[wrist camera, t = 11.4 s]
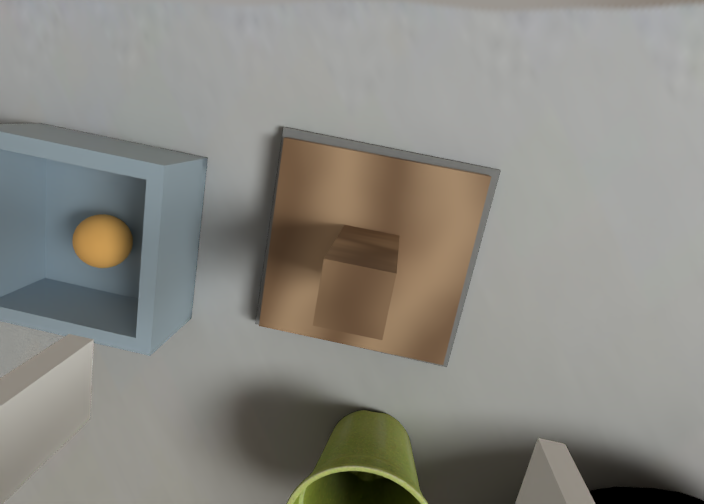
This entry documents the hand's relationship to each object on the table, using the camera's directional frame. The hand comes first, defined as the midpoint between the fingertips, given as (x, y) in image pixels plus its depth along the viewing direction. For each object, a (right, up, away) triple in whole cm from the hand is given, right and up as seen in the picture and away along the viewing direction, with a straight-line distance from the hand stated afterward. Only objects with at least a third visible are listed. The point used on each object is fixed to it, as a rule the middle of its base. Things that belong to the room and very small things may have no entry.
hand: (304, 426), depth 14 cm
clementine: (-15, +6, +18) cm, 25 cm away
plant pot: (+3, -9, +23) cm, 25 cm away
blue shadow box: (-15, +7, +21) cm, 27 cm away
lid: (+2, +5, +19) cm, 19 cm away
